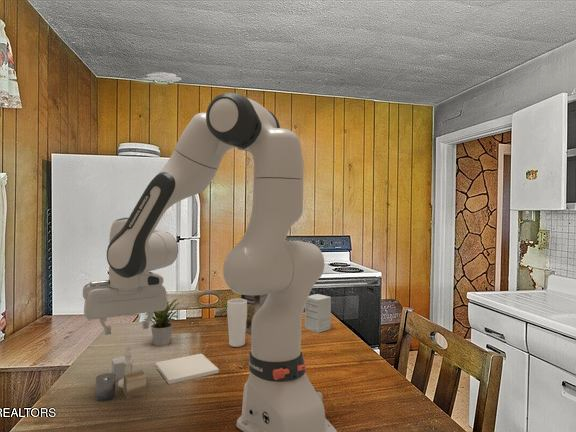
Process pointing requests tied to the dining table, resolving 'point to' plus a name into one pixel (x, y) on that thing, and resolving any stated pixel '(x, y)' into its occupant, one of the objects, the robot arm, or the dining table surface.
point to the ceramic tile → (186, 368)
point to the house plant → (163, 325)
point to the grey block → (119, 367)
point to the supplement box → (318, 313)
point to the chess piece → (127, 362)
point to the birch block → (134, 383)
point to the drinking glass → (237, 321)
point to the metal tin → (105, 387)
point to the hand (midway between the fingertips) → (127, 331)
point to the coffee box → (253, 307)
